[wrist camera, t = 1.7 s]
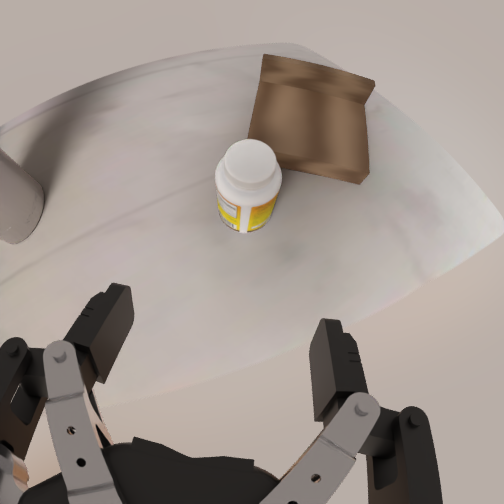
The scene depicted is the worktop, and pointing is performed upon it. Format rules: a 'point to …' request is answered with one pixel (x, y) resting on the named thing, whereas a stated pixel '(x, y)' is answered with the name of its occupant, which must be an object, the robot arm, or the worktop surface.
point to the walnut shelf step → (313, 118)
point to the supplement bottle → (247, 185)
